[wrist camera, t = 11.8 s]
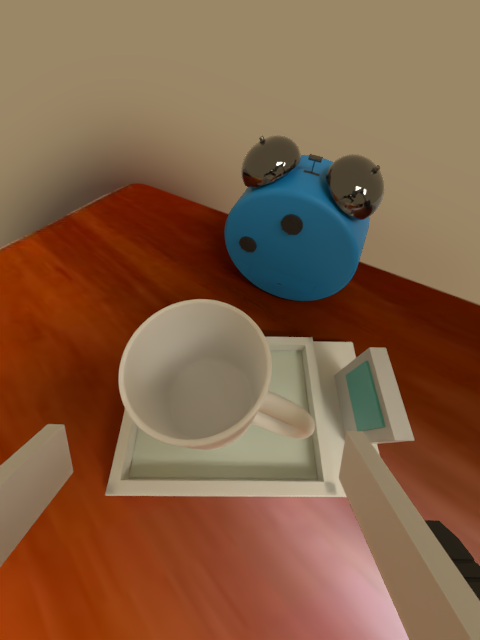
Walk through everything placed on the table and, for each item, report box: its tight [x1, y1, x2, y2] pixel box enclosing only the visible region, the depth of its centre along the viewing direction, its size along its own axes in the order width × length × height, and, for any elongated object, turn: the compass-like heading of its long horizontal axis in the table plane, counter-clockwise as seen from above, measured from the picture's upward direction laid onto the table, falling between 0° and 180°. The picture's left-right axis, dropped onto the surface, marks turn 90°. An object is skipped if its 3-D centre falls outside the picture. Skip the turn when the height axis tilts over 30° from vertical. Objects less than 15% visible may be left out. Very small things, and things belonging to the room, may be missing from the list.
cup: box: [118, 299, 315, 450], centre depth 17 cm, size 8×12×10 cm
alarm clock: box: [225, 136, 384, 301], centre depth 24 cm, size 13×6×15 cm, turn 65°
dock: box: [105, 337, 415, 497], centre depth 19 cm, size 22×13×8 cm, turn 90°
